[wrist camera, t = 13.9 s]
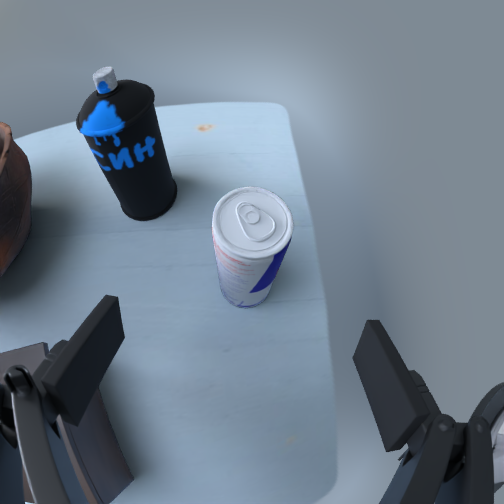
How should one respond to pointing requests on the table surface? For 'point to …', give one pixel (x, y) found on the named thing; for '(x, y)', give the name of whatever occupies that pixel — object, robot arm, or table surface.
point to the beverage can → (250, 243)
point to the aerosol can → (128, 144)
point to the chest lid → (31, 361)
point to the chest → (101, 451)
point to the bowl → (13, 198)
